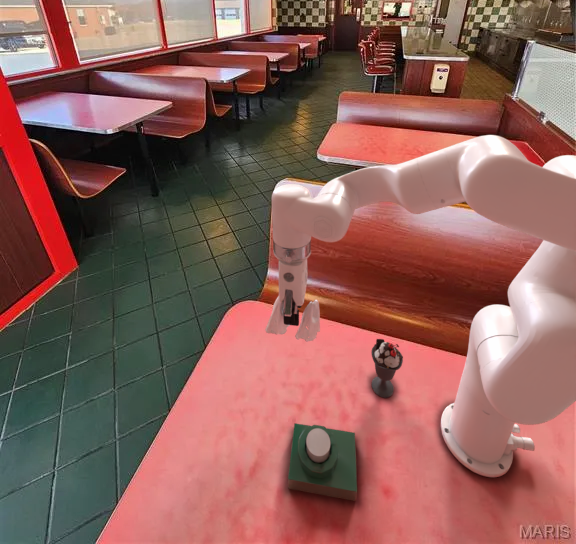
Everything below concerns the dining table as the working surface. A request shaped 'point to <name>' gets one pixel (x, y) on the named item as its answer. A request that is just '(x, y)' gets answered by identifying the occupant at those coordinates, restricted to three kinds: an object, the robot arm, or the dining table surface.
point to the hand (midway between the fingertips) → (293, 314)
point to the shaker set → (308, 320)
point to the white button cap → (318, 445)
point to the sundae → (385, 366)
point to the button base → (324, 465)
